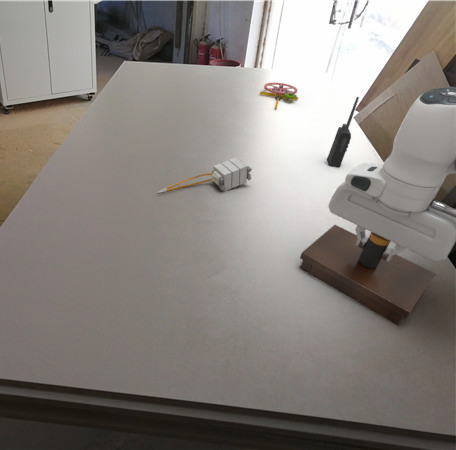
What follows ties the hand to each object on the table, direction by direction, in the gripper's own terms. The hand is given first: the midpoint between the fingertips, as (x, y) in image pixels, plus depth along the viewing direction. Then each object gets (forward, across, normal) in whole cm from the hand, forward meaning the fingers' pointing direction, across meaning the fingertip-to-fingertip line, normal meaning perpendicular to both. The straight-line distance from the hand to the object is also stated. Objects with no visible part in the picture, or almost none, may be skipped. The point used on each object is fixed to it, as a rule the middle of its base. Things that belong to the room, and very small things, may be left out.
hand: (372, 252), depth 75 cm
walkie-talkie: (+7, +26, -42) cm, 50 cm away
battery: (+2, 0, 0) cm, 2 cm away
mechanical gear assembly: (+7, +67, -78) cm, 103 cm away
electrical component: (+7, +41, -1) cm, 42 cm away
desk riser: (+7, 0, 0) cm, 7 cm away
